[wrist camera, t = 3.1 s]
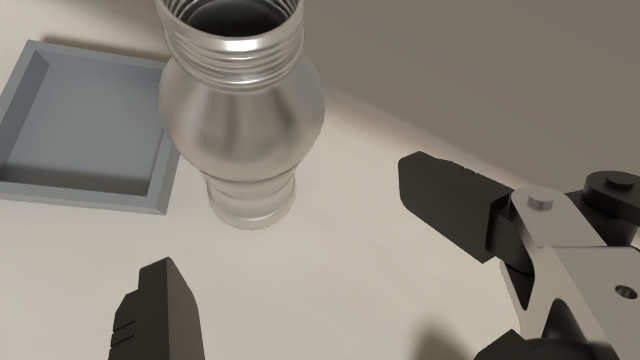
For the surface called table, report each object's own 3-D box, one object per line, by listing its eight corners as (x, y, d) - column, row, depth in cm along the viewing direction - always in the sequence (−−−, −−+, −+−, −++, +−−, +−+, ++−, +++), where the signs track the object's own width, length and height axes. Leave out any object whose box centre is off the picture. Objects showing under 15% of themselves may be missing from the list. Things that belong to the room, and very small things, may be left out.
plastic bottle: (208, 168, 26) (71, -114, 8) (285, 156, 28) (331, -100, 9) (218, 242, 24) (71, 114, 6) (300, 226, 26) (393, 83, 7)
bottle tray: (-14, 197, 23) (-44, 188, 20) (47, 59, 27) (28, 39, 25) (165, 215, 24) (155, 208, 22) (196, 83, 29) (191, 66, 26)
